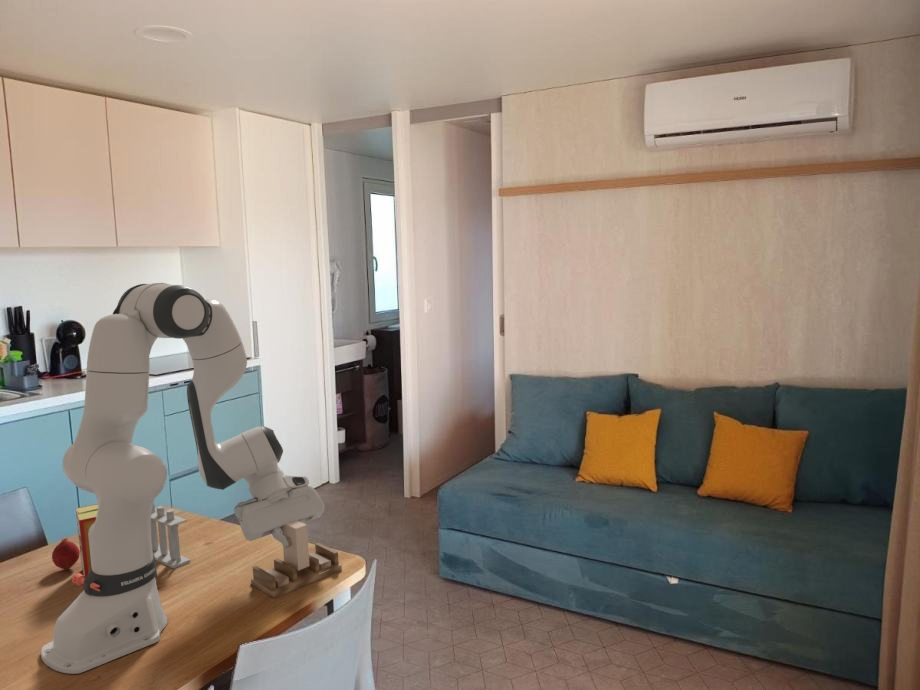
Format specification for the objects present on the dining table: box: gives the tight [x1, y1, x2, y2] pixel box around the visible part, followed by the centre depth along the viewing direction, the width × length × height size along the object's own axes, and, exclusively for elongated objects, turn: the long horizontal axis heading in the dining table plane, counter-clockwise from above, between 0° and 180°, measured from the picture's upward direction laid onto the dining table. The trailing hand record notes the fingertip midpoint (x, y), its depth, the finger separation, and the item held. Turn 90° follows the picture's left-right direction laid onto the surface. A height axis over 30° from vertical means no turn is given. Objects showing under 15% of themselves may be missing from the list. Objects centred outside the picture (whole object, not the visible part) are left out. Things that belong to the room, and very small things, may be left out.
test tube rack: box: [150, 502, 191, 569], centre depth 175 cm, size 25×4×13 cm, turn 53°
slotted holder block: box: [250, 542, 343, 599], centre depth 161 cm, size 18×10×4 cm, turn 136°
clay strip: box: [281, 520, 310, 571], centre depth 160 cm, size 3×6×10 cm, turn 46°
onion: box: [51, 536, 81, 570], centre depth 167 cm, size 6×6×8 cm
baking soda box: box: [75, 503, 98, 577], centre depth 164 cm, size 10×6×16 cm
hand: (296, 543), depth 159 cm, fingers closed on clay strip, 3 cm apart
